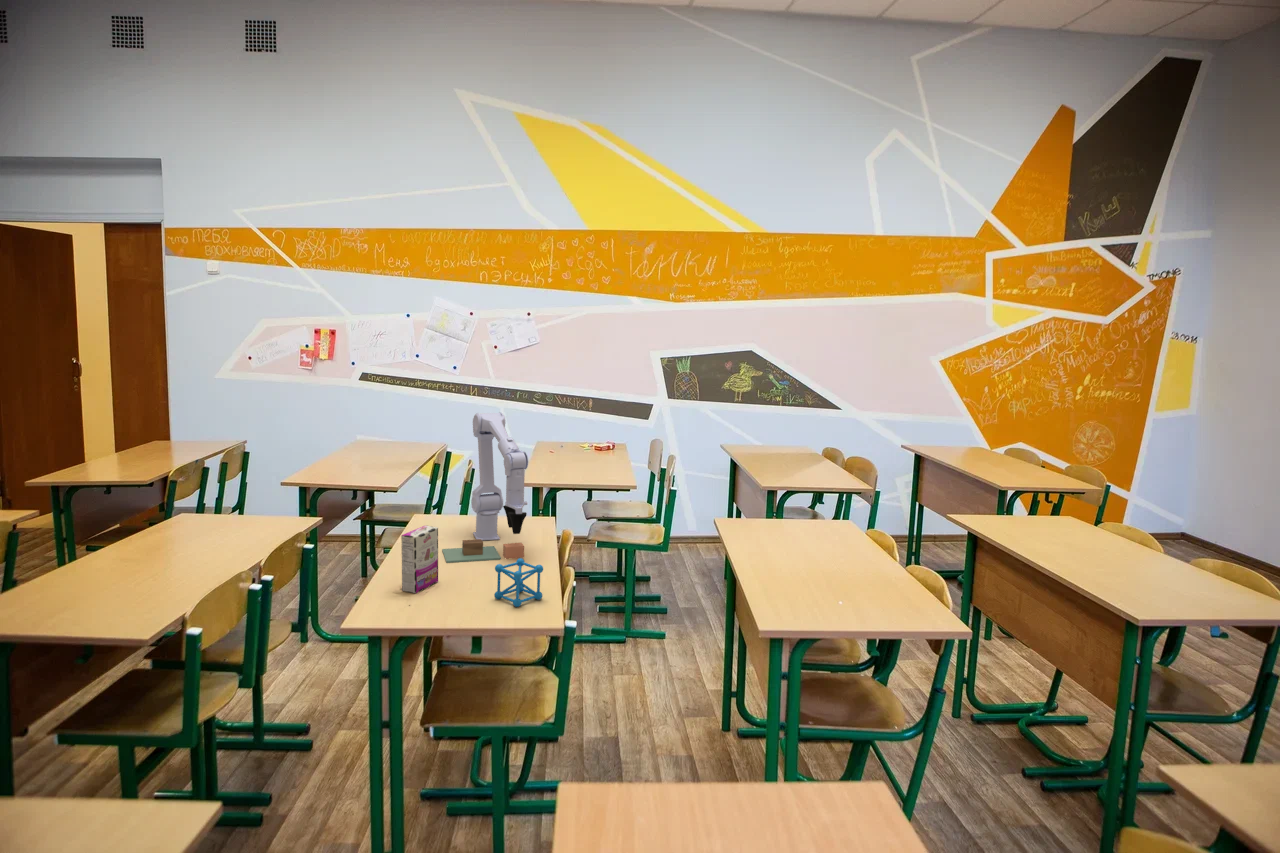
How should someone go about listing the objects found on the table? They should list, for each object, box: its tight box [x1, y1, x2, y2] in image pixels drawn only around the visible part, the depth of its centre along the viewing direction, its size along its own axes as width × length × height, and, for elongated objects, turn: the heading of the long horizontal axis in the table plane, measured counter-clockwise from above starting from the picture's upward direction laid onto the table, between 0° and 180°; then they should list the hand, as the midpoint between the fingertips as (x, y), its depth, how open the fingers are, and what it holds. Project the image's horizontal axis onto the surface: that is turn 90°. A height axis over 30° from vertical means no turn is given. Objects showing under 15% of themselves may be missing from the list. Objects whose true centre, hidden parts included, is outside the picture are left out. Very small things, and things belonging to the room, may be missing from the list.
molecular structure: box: [493, 558, 544, 608], centre depth 210 cm, size 10×10×10 cm
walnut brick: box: [461, 538, 484, 556], centre depth 247 cm, size 4×6×4 cm, turn 110°
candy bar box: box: [400, 525, 439, 594], centre depth 215 cm, size 11×5×16 cm, turn 161°
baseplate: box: [441, 545, 502, 564], centre depth 247 cm, size 13×17×1 cm
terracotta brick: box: [502, 542, 525, 560], centre depth 248 cm, size 4×6×4 cm, turn 113°
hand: (514, 530), depth 247 cm, fingers open, 7 cm apart
